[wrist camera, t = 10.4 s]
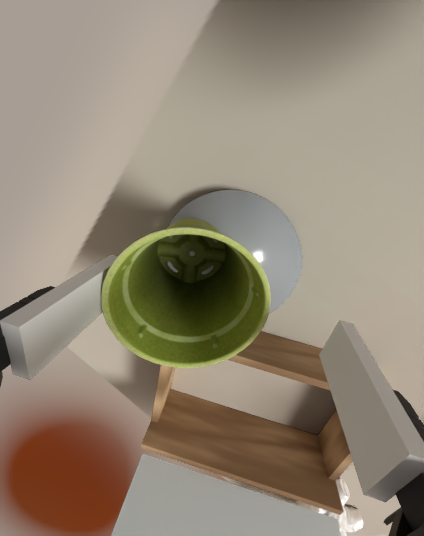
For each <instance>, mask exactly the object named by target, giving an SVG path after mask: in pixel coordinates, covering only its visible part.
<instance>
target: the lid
mask: <svg viewBox="0 0 424 536" xmlns="http://www.w3.org/2000/svg"><path fill="white" fill-rule="evenodd" d="M111 536H341V534H340V529H339V525H338V520H337V519H335V518H332V517H330V516H327V515H324V514H321V513H318V512H315V511H312V510H309V509H306V508H303V507H300V506H297V505H294V504H291V503H288V502H285V501H282V500H279V499H276V498H273V497H270V496H267V495H264V494H261V493H258V492H255V491H252V490H249V489H246V488H243V487H240V486H237V485H234V484H231V483H229V482H226V481H222V480H220V479H217V478H214V477H211V476H208V475H205V474H202V473H199V472H196V471H193V470H190V469H187V468H184V467H181V466H178V465H175V464H172V463H169V462H166V461H163V460H160V459H157V458H154V457H151V456H148V455H145V454H142V457H141V459H140V462H139V465H138V467H137V470H136V472H135V475H134V478H133V480H132V483H131V485H130V488H129V491H128V493H127V496H126V498H125V501H124V504H123V506H122V509H121V512H120V514H119V517H118V519H117V522H116V524H115V527H114V530H113V532H112V535H111Z"/></svg>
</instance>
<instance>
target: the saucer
mask: <svg viewBox="0 0 424 536" xmlns="http://www.w3.org/2000/svg"><path fill="white" fill-rule="evenodd" d="M182 219H199V220H203V221H206V222H208V223H210V224H211V225H213V226H214V227H215V228H216V229H217V230H218V231H219V232H220V233H222V234H224V235H226V236H228V237H231V238H232V239H234V240H236V241H237V242H239V243H240V244H241V245H243V246H244V247H245V248H246V249H248V250H249V251H250V252H251V253H252V255H253V256H254V257H255V258H256V259H257V261H258V262H259V263H260V265H261V266H262V268H263V270H264V272H265V274H266V276H267V279H268V282H269V286H270V293H271V304H270V311H269V313H271V312H272V311H274V310H275V309H277V308H278V307H279V306H280V305H281V304H283V303H284V301H285V300H286V299H287V298H288V297H289V296H290V294H291V293H292V291H293V290H294V288H295V286H296V284H297V282H298V279H299V276H300V272H301V267H302V251H301V245H300V241H299V238H298V235H297V233H296V230H295V229H294V227H293V225H292V224H291V222H290V220H289V219H288V218H287V217H286V215H285V214H284V213H283V212H282V211H281V210H280V209H279V208H278V207H277V206H276V205H275V204H273V203H272V202H270V201H269V200H267V199H265V198H263V197H261V196H259V195H257V194H254V193H251V192H247V191H242V190H219V191H215V192H210V193H207V194H205V195H202V196H200V197H198V198H196V199H194V200H193V201H191V202H189V203H188V204H187V205H185V206H184V207H183V208H182V209H181V210H180V211H179V212H178V213H177V214H176V215H175V216H174V218H173V219H172V221H171V222H170V224H169V225H171V224H172V223H174V222H176V221H179V220H182ZM172 237H173V235H172V236H169V238H172ZM212 239H213V238H212ZM213 240H214V242H215V243H217V242H218V240H216V239H213ZM189 255H190V256H194V255H195V253H194V251H190V252H189ZM168 266H169V267H170V268H171V269H172V270H173V271H174V272H178V270H176V269H175V268H174V267H173V265H172V264H171V263H170V262H168ZM212 269H213V266H212V267H210V268H208V269H207V270H205V271H203V272H202V274H207V273H209V272H210V271H211V270H212Z"/></svg>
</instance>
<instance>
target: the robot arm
mask: <svg viewBox="0 0 424 536" xmlns="http://www.w3.org/2000/svg"><path fill="white" fill-rule="evenodd" d="M117 257H118V256H115V255H109V256H107V257H106V258H104V259H102V260H101V261H99V262H97V263H96V264H94V265H92V266H91V267H89V268H87V269H86V270H84V271H82V272H81V273H79V274H77V275H76V276H74V277H72V278H71V279H69V280H67V281H66V282H64V283H62V284H61V285H59V286H57V287H52V286H50V287H47V288H44V289H40V290H38V291H36V292H34V293H33V294H31V295H29V296H28V297H25V298H23V299H22V300H20V301H19V302H16V303H15V304H13V305H11V306H10V307H8V308H6V309H4V310H2V311H0V386H1V382H2V377H3V376H2V370H3V369H5V368H6V367H7V366H9V365H10V364H11V368H12V372H13V374H14V375H17V376H20V377H23V378H26V379H29V380H31V379H32V378H33V377H34V376H35V375H36V374H37V373H38V372H39V371H40V370H41V369H43V368H44V367H45V365H47V364H48V363H49V362H50V361H51V360H52V359H53V358H54V357H55V356H56V355H57V354H58V353H60V352H61V351H62V350H63V349H64V348H65V347H66V346H67V345H68V344H69V343H70V342H71V341H72V340H74V339H75V338H76V337H77V336H78V335H79V334H80V333H81V332H82V331H83V330H84V329H85V328H86V327H87V326H88V325H90V324H91V323H92V322H93V321H94V320H95V319H96V318H97V317H98V316H99V315H100V314H101V313H102V312H103V310H102V306H101V304H102V303H101V294H102V286H103V282H104V279H105V277H106V274H107V272H108V270H109V268H110V266H111V265H112V263H113V262H114V261H115V259H116V258H117ZM319 356H320V359H321V362H322V366H323V369H324V372H325V375H326V378H327V381H328V384H329V387H330V391H331V394H332V397H333V400H334V403H335V406H336V409H337V413H338V416H339V419H340V422H341V425H342V428H343V431H344V434H345V438H346V441H347V444H348V447H349V450H350V453H351V456H352V460H353V463H354V466H355V469H356V472H357V475H358V478H359V482H360V485H361V488H362V491H363V494H364V495H366V496H369V497H372V498H375V499H378V500H381V501H384V502H387V501H388V500H389V499H391V498H392V497H393V496H394V495H396V496H397V498H398V500H399V503H400V505H401V508H399V509H398V510H397V511H395V512H394V513H392V514H391V515H390V516H388V517H387V518H386V519H385V520H384V523H385V524H386V525H388V524H390V523H391V522H393V523H392V527H391V530H390V533H389V536H424V425H423V423H422V422H421V420H419V419H418V418H419V417H418V415H417V414H416V412H415V411H414V409H413V408H412V406H411V404H410V403H409V402H408V401H407V400H406V399H405V398H404V397H403V396H402V395H401V394H400V393H399V392H398V391H395V390H392V388H391V386H390V385H389V383H388V381H387V380H386V378H385V376H384V375H383V373H382V371H381V370H380V368H379V366H378V365H377V363H376V361H375V360H374V358H373V356H372V355H371V353H370V351H369V350H368V348H367V346H366V345H365V343H364V341H363V340H362V338H361V336H360V335H359V333H358V331H357V329H356V328H355V326H354V324H351V323H348V322H344V321H341V320H339V322H338V324H337V325H336V327H335V329H334V330H333V332H332V334H331V336H330V337H329V339H328V341H327V342H326V344H325V346H324V347H323V349H322V351H321V352H320V354H319Z"/></svg>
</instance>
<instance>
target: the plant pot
mask: <svg viewBox="0 0 424 536" xmlns="http://www.w3.org/2000/svg"><path fill="white" fill-rule="evenodd" d="M172 235H173V237H172V238H169V236H172ZM212 238H213V239H216V240H218V242H217V243H215V242H214V240H213V239H212ZM190 251H194V253H195V255H194V256H190V255H189V252H190ZM168 262H170V263H171V264H172V265H173V267H174V268H175V269H176V270H178V272H174V271H173V270H172V269H171V268H170V267H169V266H168ZM212 266H213V269H212V270H211V271H210V272H209V273H207V274H202V272H203V271H205V270H207V269H208V268H210V267H212ZM101 303H102V304H101V306H102V310H103V315H104V318H105V320H106V323H107V325H108V326H109V328H110V330H111V331H112V333H113V334H114V335H115V337H116V338H117V339H118V340H119V342H120V343H121V344H122V345H123V346H125V347H126V348H127V349H128V350H130V351H131V352H133V353H134V354H136V355H137V356H139V357H141V358H143V359H145V360H148V361H150V362H153V363H156V364H160V365H164V366H170V367H176V368H196V367H203V366H209V365H213V364H216V363H219V362H222V361H224V360H227V359H229V358H231V357H233V356H235V355H236V354H238V353H239V352H241V351H242V350H243V349H245V348H246V347H247V346H248V345H250V344H251V342H253V340H254V339H255V338H256V337H257V335H258V334H259V333H260V332H261V330H262V328H263V327H264V324H265V323H266V320H267V318H268V314H269V311H270V304H271V293H270V286H269V282H268V279H267V276H266V274H265V272H264V270H263V268H262V266H261V265H260V263H259V262H258V261H257V259H256V258H255V257H254V256H253V255H252V253H251V252H250V251H249V250H248V249H246V248H245V247H244V246H243V245H241V244H240V243H239V242H237V241H236V240H234V239H232V238H231V237H228V236H226V235H224V234H222V233H220V232H219V231H218V230H217V229H216V228H215V227H214V226H213V225H211V224H210V223H208V222H206V221H203V220H199V219H182V220H179V221H176V222H174V223H172V224H171V225H169V226H168V227H167V228H166V229H162V230H158V231H155V232H152V233H150V234H148V235H145V236H143V237H141V238H140V239H138V240H136V241H135V242H133V243H132V244H130V245H129V246H128V247H127V248H125V249H124V250H123V251H122V252H121V254H120V255H119V256H118V257H117V258H116V259H115V261H114V262H113V263H112V265H111V266H110V268H109V270H108V272H107V274H106V277H105V279H104V282H103V286H102V294H101Z"/></svg>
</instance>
